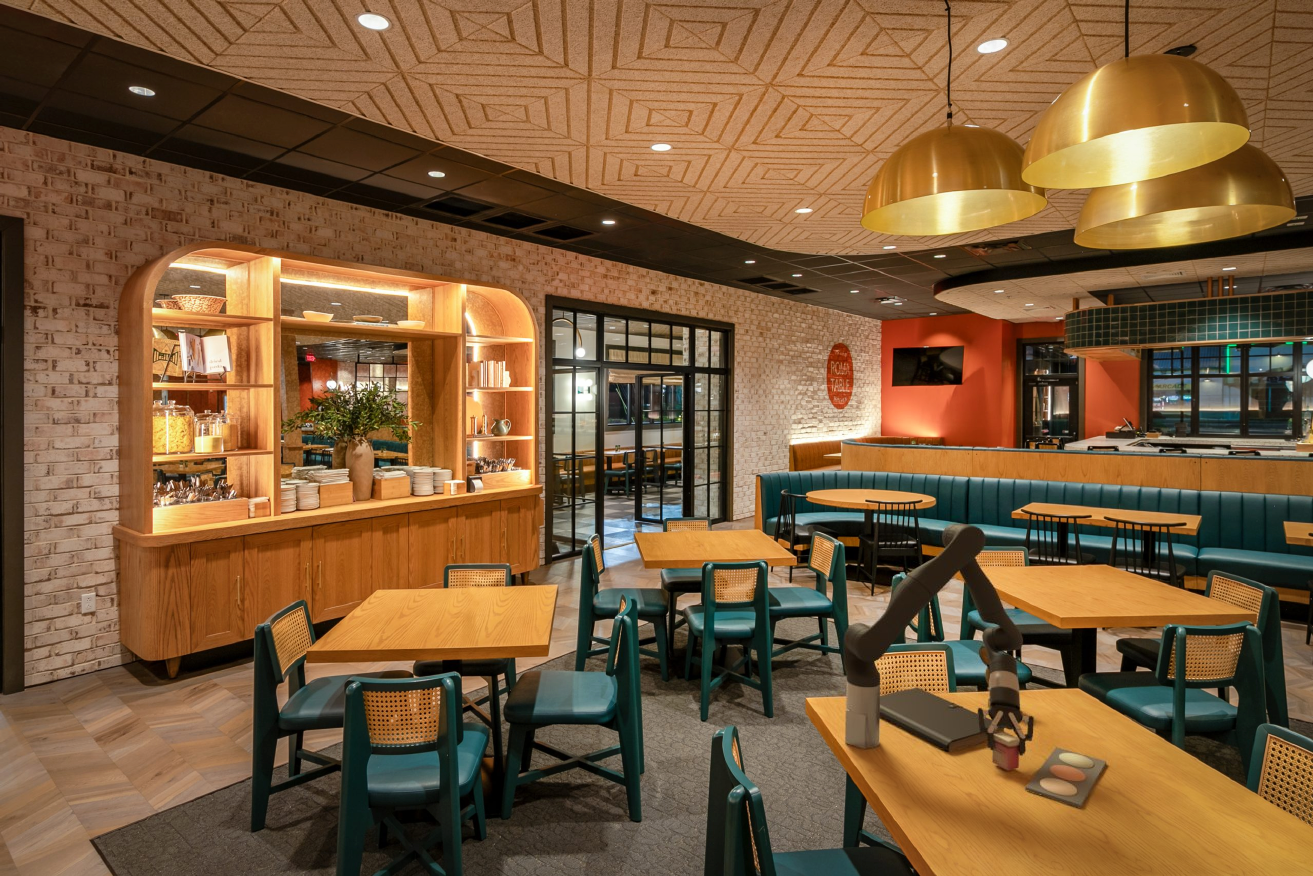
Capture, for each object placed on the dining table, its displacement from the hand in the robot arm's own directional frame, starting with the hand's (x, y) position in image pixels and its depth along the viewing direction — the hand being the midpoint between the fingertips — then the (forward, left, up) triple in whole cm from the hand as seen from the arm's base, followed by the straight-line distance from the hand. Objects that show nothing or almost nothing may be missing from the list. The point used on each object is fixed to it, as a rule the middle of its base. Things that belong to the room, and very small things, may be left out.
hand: (1006, 751), depth 184 cm
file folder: (+17, +26, -6) cm, 32 cm away
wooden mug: (+44, +15, -5) cm, 47 cm away
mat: (+7, -13, -5) cm, 15 cm away
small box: (+2, +1, -5) cm, 5 cm away
